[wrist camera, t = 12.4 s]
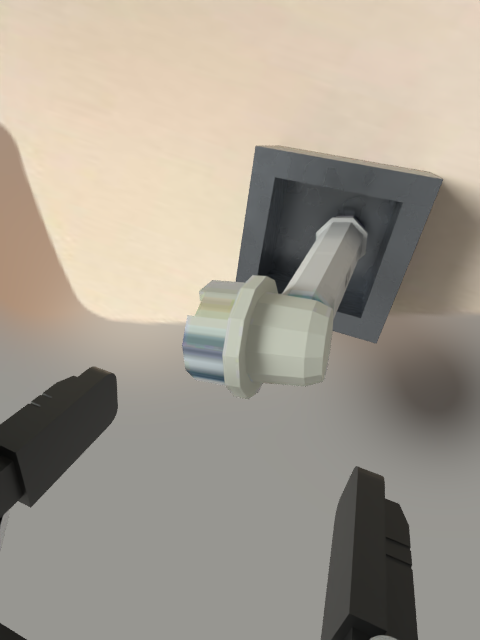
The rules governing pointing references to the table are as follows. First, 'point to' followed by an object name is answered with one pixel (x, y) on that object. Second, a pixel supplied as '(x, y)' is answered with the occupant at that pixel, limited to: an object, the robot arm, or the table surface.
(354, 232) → the light grey piece
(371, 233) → the open box
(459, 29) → the table surface
